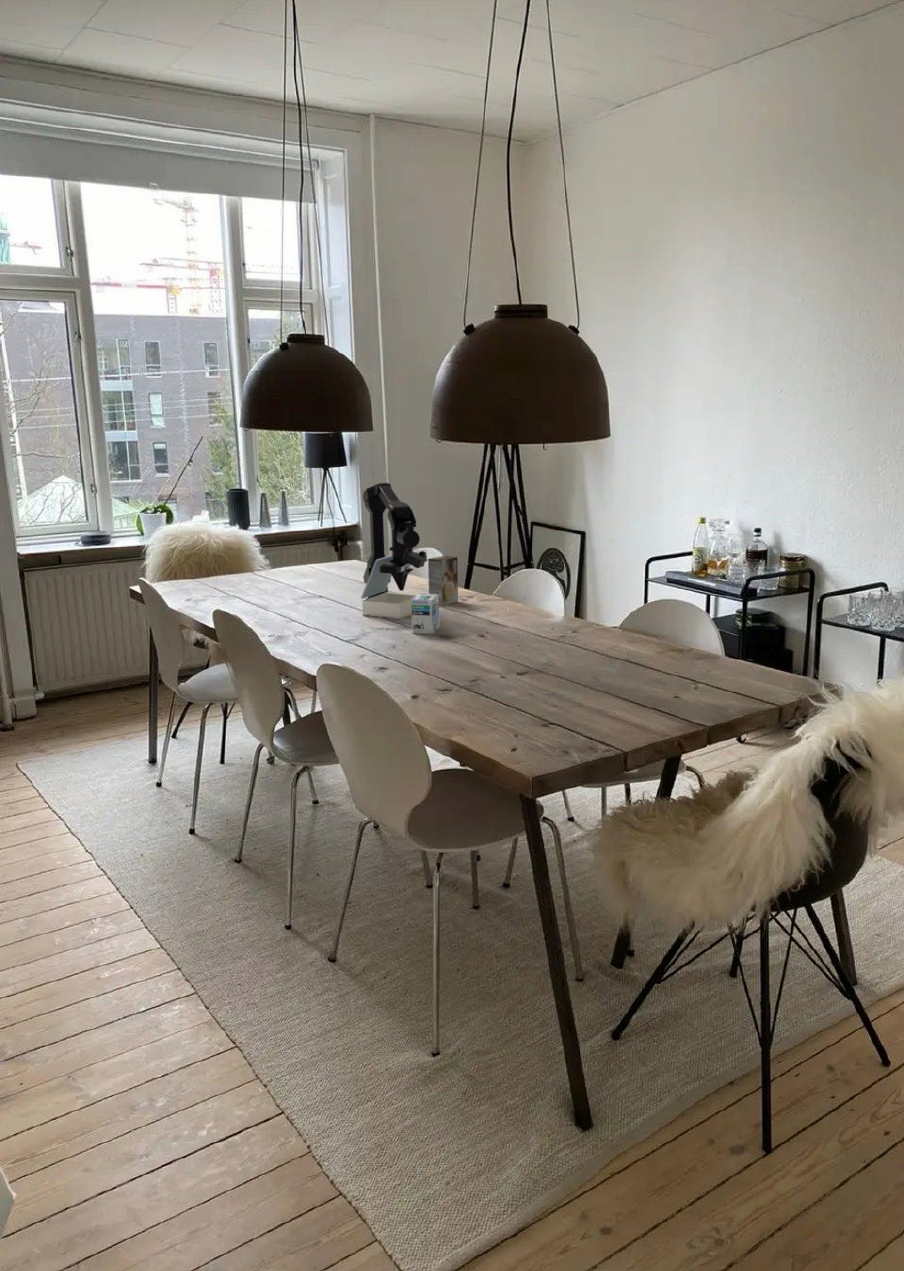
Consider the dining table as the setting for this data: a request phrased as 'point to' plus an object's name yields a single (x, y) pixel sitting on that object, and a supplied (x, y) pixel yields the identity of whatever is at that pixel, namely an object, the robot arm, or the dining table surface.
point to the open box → (388, 605)
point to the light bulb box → (425, 613)
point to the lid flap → (377, 579)
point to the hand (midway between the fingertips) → (401, 590)
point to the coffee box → (443, 578)
